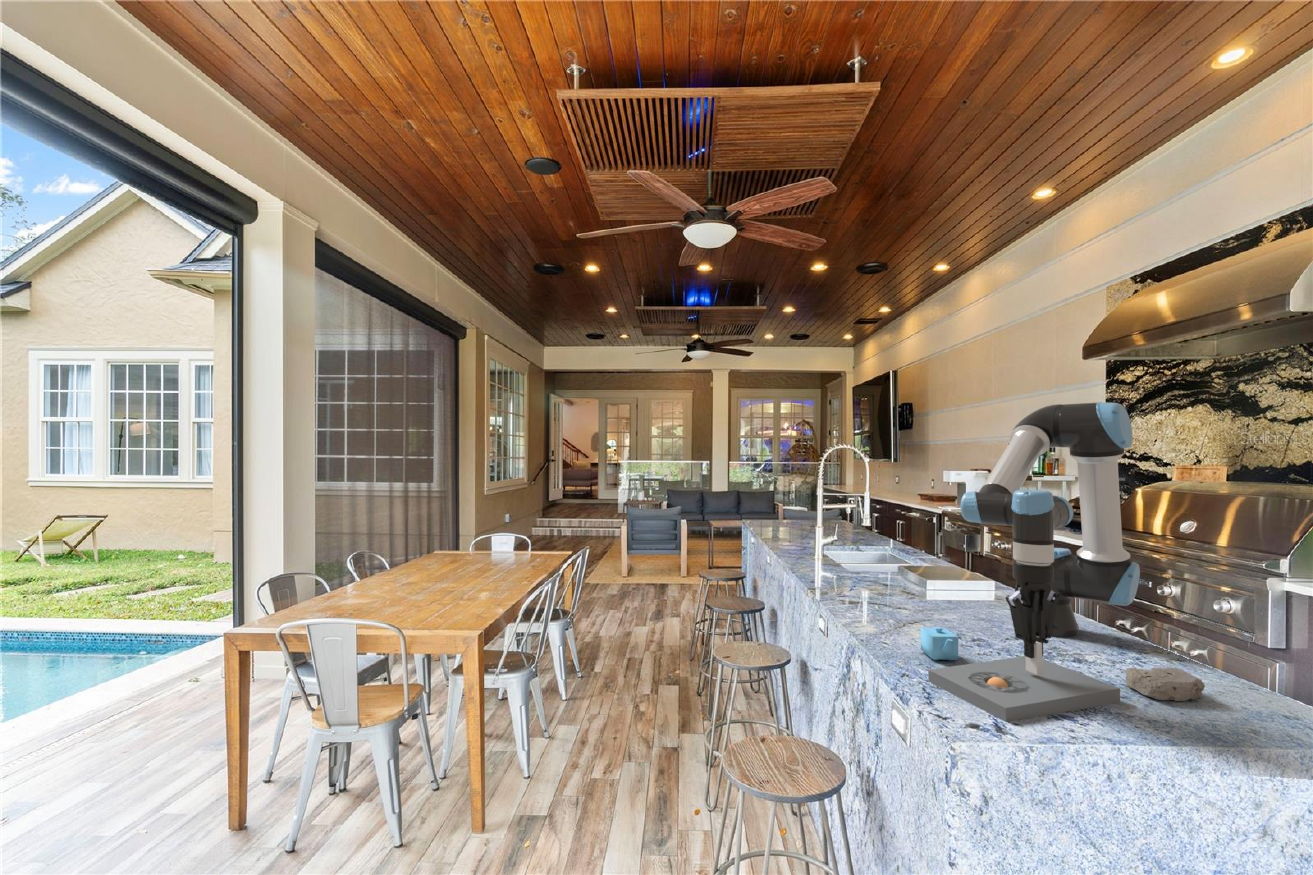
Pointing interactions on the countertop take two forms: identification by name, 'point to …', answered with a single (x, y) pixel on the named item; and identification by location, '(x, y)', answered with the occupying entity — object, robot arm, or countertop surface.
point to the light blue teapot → (939, 643)
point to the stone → (1165, 683)
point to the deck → (1023, 688)
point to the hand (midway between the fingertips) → (1033, 671)
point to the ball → (997, 682)
